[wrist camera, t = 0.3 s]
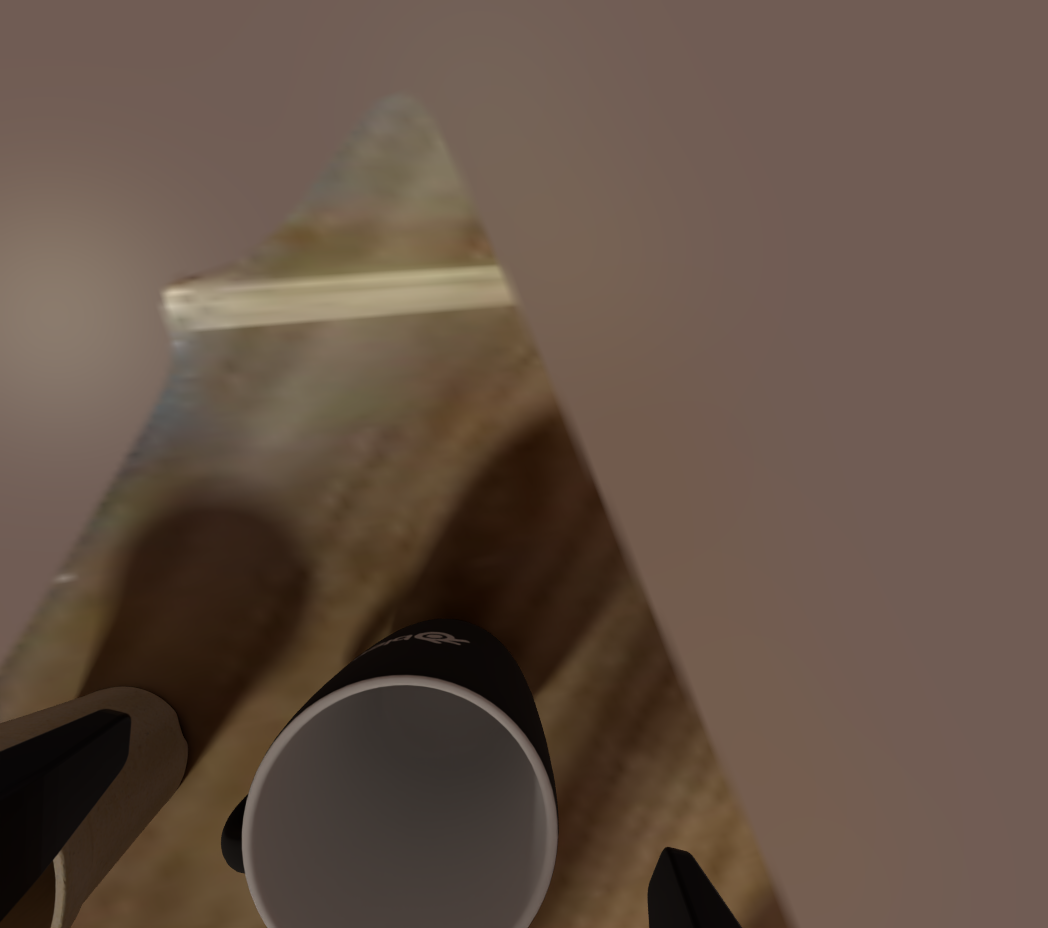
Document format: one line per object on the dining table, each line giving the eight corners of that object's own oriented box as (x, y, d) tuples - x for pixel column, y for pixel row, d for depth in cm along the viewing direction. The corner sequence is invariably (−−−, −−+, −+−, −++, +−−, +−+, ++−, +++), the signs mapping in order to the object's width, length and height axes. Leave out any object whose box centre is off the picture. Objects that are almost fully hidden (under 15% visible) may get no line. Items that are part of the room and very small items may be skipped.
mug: (501, 567, 24) (494, 627, 14) (566, 742, 24) (606, 928, 14) (266, 657, 24) (88, 784, 14) (330, 836, 24) (196, 1097, 14)
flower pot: (25, 649, 24) (-252, 744, 15) (227, 646, 24) (67, 738, 15) (19, 854, 23) (-269, 1070, 15) (224, 849, 24) (59, 1059, 15)
